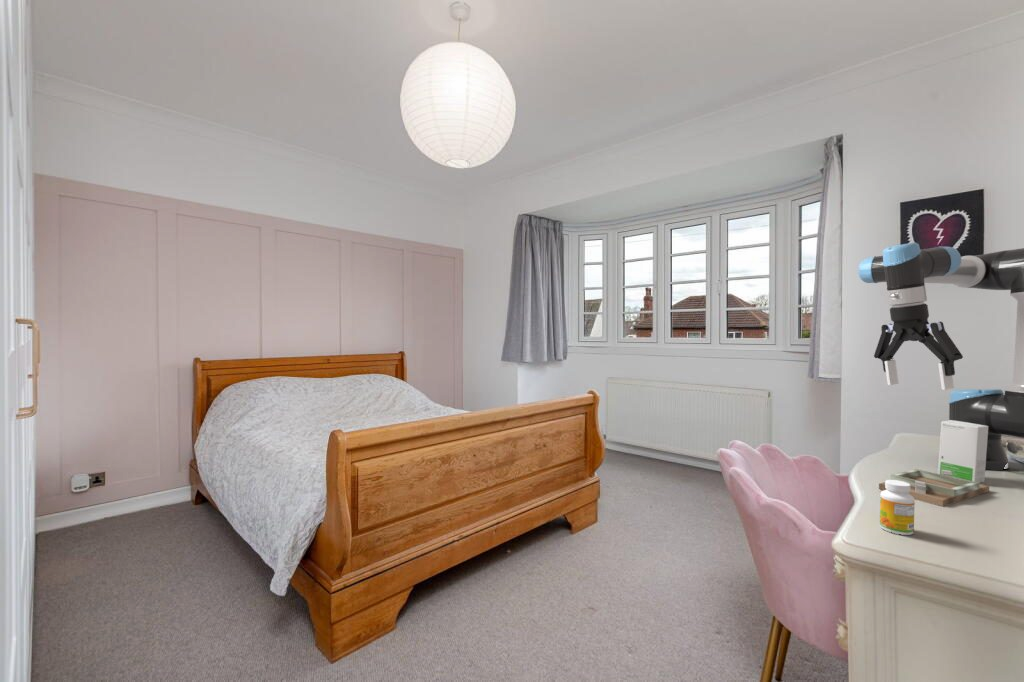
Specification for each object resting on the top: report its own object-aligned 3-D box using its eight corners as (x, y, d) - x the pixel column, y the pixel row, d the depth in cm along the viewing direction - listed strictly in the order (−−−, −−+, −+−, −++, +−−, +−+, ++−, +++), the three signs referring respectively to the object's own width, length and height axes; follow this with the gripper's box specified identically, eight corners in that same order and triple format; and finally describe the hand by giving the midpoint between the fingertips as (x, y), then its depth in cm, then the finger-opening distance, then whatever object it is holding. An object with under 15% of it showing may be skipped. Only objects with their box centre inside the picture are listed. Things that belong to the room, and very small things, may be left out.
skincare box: (936, 476, 133) (938, 421, 133) (947, 473, 136) (949, 419, 136) (976, 485, 126) (978, 426, 126) (987, 482, 129) (989, 424, 129)
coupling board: (926, 477, 132) (926, 465, 132) (989, 491, 121) (989, 478, 121) (878, 489, 122) (879, 476, 122) (942, 506, 110) (943, 492, 110)
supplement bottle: (875, 523, 100) (876, 477, 100) (907, 527, 98) (908, 480, 98) (884, 533, 95) (886, 484, 95) (918, 537, 93) (919, 488, 93)
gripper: (852, 310, 134) (862, 384, 134) (949, 302, 109) (961, 393, 110) (874, 306, 135) (884, 380, 136) (975, 298, 111) (987, 388, 111)
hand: (919, 386), depth 123 cm, fingers open, 13 cm apart
